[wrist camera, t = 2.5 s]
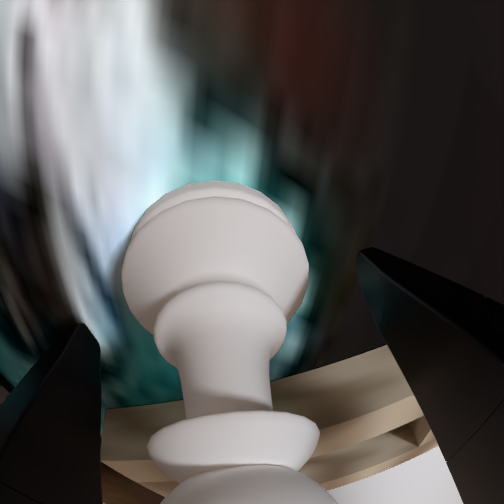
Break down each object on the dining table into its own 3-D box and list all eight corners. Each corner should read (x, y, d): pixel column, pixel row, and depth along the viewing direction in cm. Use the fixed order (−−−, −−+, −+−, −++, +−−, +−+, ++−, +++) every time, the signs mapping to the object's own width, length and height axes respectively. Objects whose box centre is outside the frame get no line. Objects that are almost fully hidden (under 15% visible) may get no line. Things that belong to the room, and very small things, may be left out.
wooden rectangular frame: (199, 482, 21) (202, 512, 18) (105, 409, 13) (99, 460, 11) (426, 417, 21) (440, 444, 18) (477, 304, 13) (508, 342, 11)
